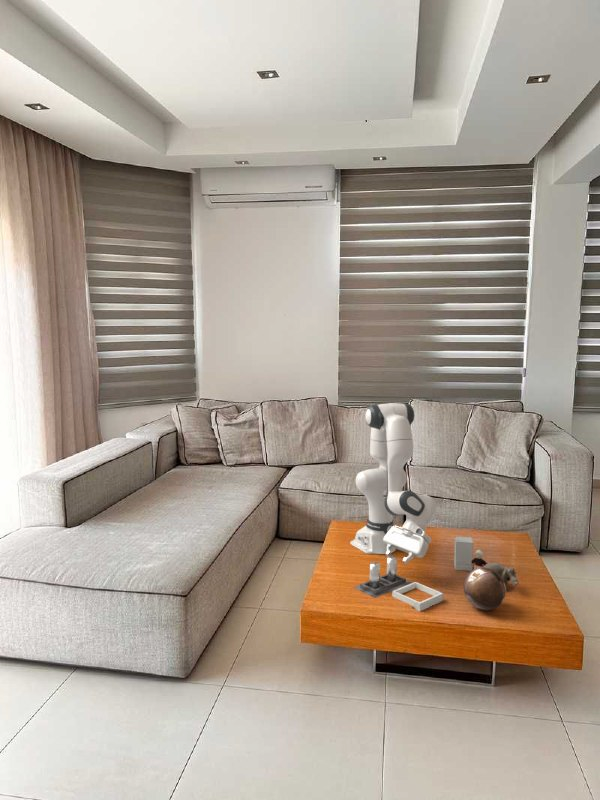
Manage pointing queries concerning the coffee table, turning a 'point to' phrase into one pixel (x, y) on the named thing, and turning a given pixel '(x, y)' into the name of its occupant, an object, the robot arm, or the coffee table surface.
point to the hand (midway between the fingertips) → (395, 558)
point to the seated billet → (374, 575)
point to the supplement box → (463, 553)
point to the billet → (391, 568)
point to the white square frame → (416, 605)
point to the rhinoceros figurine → (504, 573)
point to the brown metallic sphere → (484, 588)
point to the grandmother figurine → (478, 560)
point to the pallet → (382, 586)
